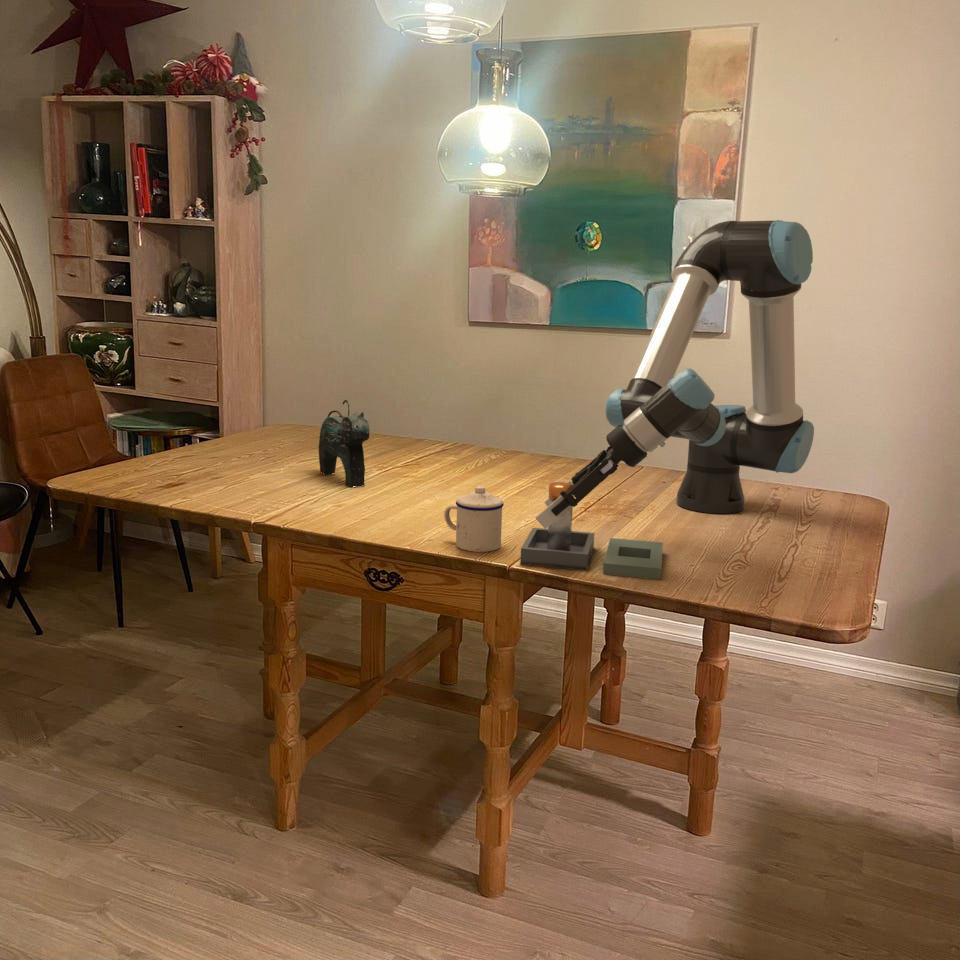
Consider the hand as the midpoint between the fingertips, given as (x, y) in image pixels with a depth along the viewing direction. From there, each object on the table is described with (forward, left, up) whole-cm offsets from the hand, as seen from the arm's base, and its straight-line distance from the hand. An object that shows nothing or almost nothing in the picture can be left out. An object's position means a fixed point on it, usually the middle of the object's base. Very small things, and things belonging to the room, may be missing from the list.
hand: (544, 515), depth 173 cm
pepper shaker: (0, +3, -7) cm, 8 cm away
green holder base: (0, +17, -8) cm, 18 cm away
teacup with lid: (-2, -14, -8) cm, 16 cm away
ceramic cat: (-44, -56, -8) cm, 72 cm away
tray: (0, +3, -8) cm, 8 cm away
